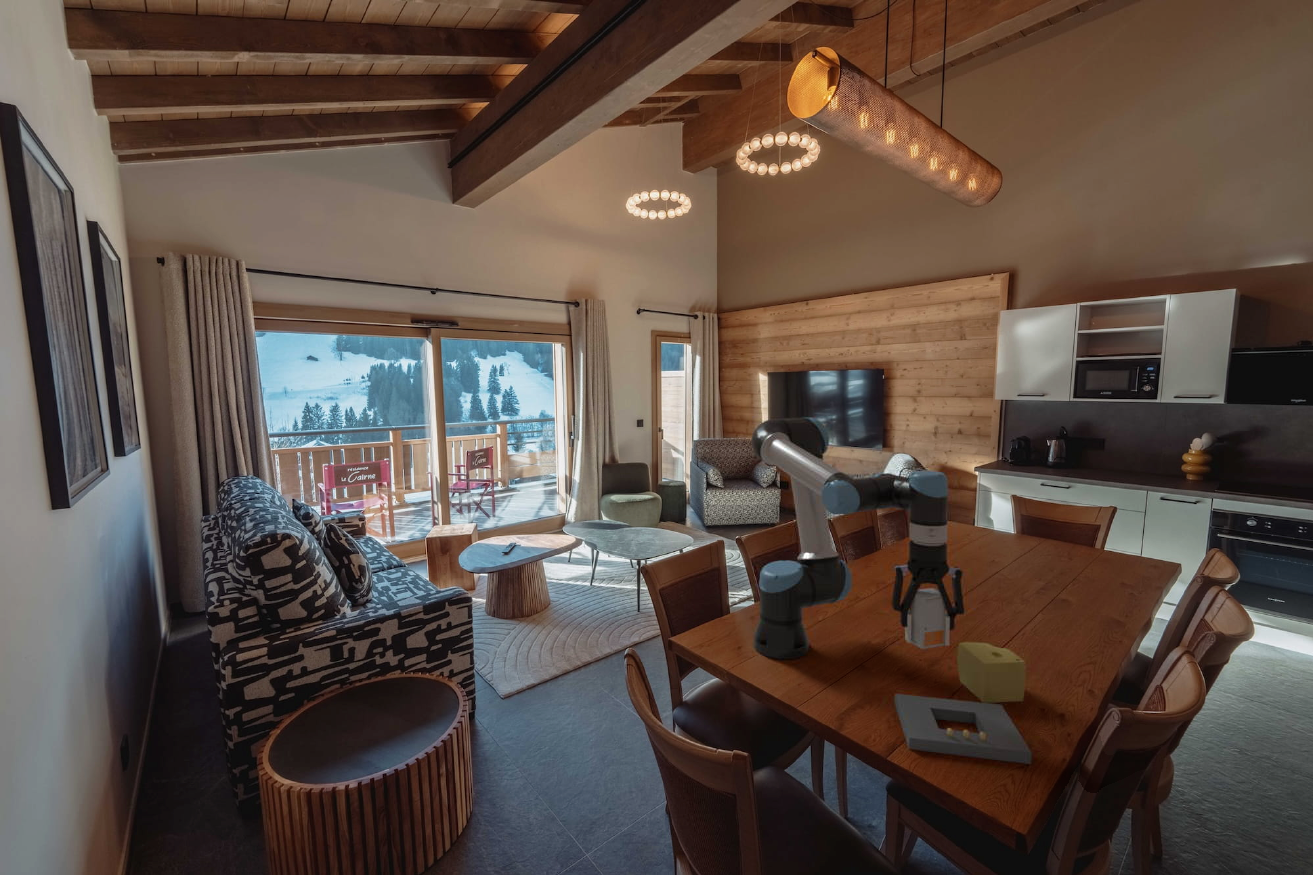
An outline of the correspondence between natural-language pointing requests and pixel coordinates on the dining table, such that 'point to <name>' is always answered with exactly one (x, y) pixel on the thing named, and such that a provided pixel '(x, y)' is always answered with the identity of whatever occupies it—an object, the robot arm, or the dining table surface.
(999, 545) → the dining table surface
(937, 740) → the grey frame plate
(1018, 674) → the cheese
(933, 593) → the skincare box
